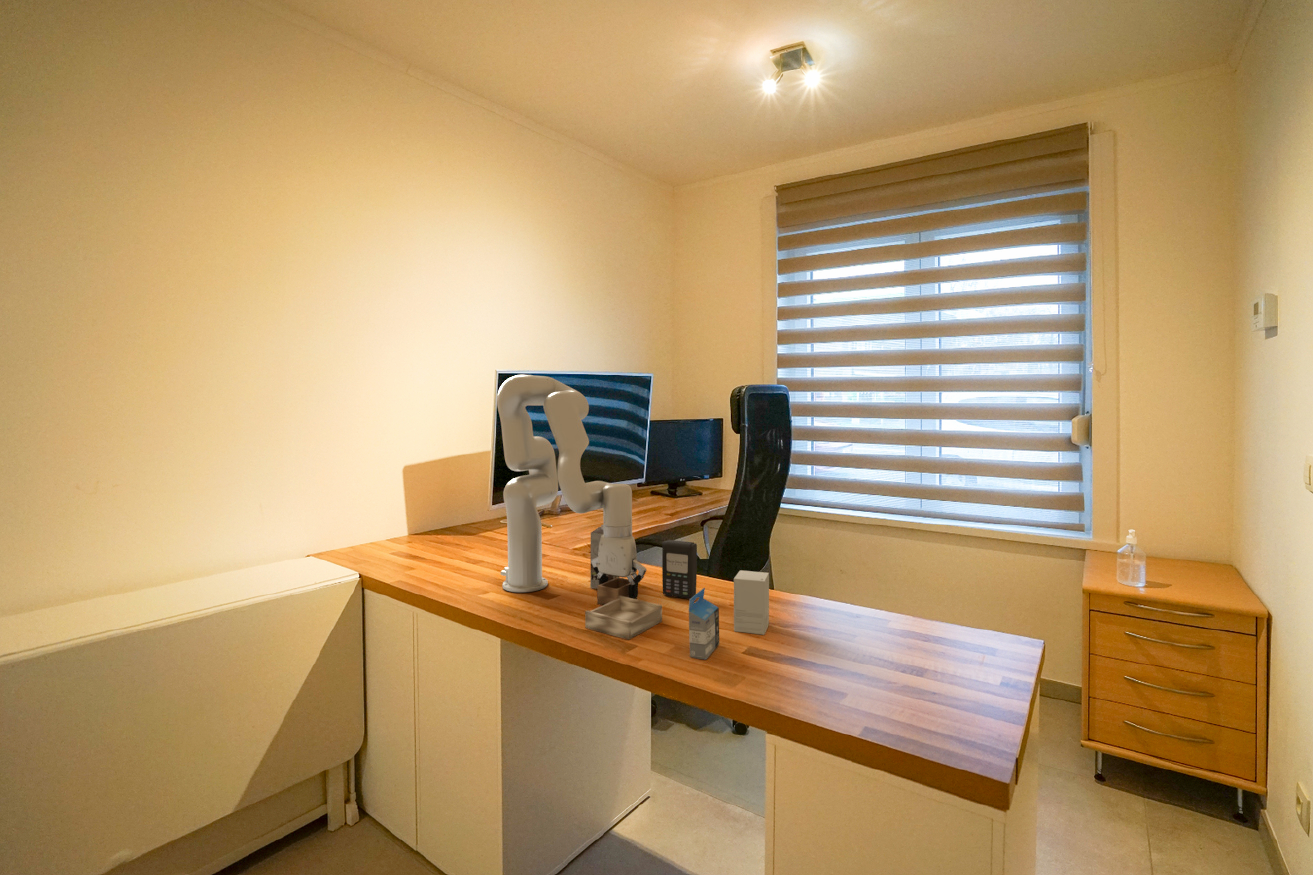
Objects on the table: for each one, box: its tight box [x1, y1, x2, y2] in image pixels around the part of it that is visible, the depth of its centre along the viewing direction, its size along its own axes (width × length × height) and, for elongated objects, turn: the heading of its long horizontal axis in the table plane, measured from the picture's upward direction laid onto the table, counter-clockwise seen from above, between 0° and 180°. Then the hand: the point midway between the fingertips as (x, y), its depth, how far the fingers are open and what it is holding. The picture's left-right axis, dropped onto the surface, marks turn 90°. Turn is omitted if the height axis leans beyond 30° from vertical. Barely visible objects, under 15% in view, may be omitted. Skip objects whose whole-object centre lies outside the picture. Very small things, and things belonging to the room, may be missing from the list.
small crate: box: [596, 577, 638, 606], centre depth 159 cm, size 6×9×5 cm
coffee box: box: [589, 526, 618, 590], centre depth 174 cm, size 9×6×16 cm
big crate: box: [584, 596, 663, 641], centre depth 143 cm, size 13×14×4 cm
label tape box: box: [688, 587, 720, 660], centre depth 128 cm, size 9×4×12 cm, turn 155°
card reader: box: [661, 539, 698, 600], centre depth 164 cm, size 9×4×15 cm, turn 67°
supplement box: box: [733, 569, 770, 636], centre depth 141 cm, size 7×7×13 cm
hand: (618, 595), depth 159 cm, fingers open, 9 cm apart
